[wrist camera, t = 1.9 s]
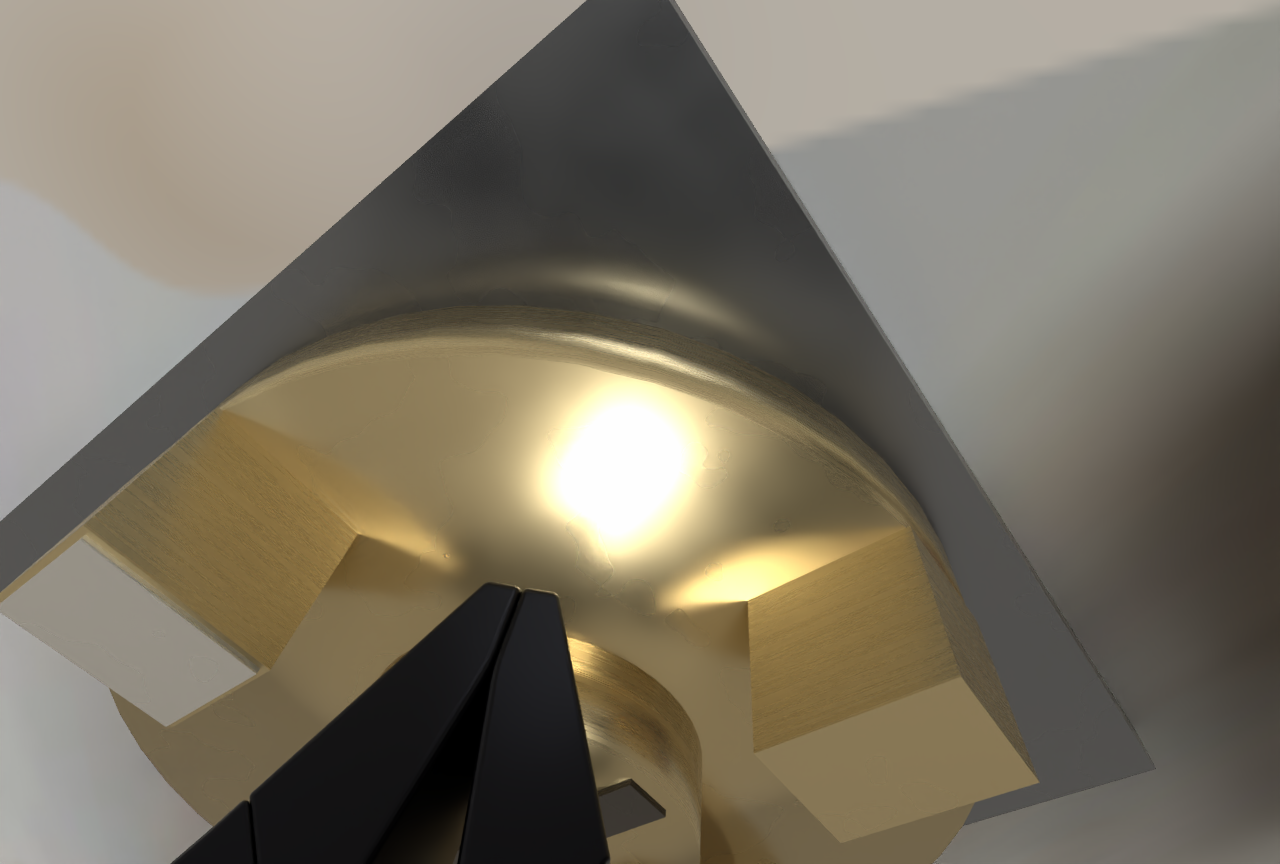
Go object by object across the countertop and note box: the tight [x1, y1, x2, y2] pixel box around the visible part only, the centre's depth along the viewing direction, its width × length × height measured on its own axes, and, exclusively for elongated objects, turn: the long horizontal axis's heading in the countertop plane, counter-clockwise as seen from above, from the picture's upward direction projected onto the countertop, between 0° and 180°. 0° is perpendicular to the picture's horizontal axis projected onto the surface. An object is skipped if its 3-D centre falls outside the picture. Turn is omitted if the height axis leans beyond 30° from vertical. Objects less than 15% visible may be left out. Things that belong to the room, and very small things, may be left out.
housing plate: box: [0, 0, 1156, 826], centre depth 18 cm, size 20×20×1 cm
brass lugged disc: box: [0, 305, 1040, 864], centre depth 15 cm, size 18×18×5 cm
